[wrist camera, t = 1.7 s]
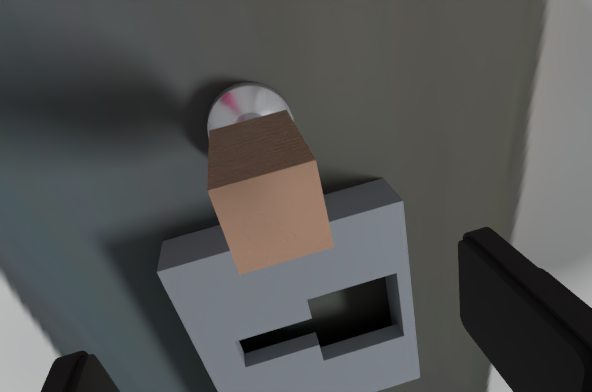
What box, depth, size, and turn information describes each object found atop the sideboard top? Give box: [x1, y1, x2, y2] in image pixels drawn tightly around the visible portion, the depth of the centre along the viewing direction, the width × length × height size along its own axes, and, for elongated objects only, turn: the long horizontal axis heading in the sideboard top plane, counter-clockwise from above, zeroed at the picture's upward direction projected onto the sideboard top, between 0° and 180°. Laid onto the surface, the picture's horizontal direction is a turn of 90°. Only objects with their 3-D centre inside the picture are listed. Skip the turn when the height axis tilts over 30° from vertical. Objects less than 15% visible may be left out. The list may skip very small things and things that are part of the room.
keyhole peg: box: [207, 82, 334, 275], centre depth 18 cm, size 5×5×11 cm
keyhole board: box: [157, 178, 420, 392], centre depth 29 cm, size 17×15×3 cm
